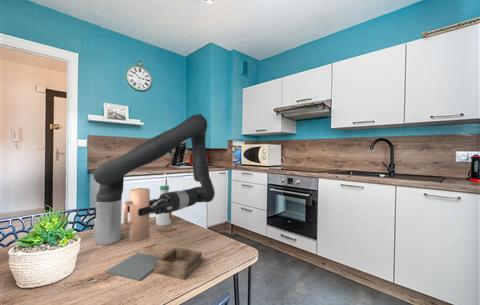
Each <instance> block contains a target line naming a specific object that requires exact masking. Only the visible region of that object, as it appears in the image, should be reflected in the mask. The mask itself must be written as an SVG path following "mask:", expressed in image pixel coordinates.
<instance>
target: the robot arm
mask: <svg viewBox="0 0 480 305" xmlns="http://www.w3.org/2000/svg"><path fill="white" fill-rule="evenodd" d="M207 129H208V121H207V119H206V118H205V117H204V116H203V115H201V114H194V115H191V116H190V117H188V118H186V119H185V120H184V121H182V122H181V123H179V124H177V125H176V126H174V127H173V128H170V129H168V130H166V131H165V130H164V132H161V133H159V134H157V135H155V136H153V137H151V138H150V139H148V140H146V141H144V142H142V143H140V144H139V145H137V146H135V147H134V148H132V149H130V150H129V151H128V152H126V153H125V154H122V155H121V156H117V158H114V159H111V160H109V161H107V162H104V163H101V164H99V165H98V166H97V167H96V168H95V170H94V172H93V180H94V182H96V183H97V184H99V187H98V188H99V189H98V191H97V194H96V199H95V200H96V201H95V202H96V204H95V208H96V209H95V218H94V220H93V242H94V243H95V244H96V245H99V246H101V245H102V246H106V245H111V244H115V243H117V242H119V241H120V240H121V239H122V206H123V205H122V202H123V199H122V198H123V196H122V195H123V191H124V179H125V176H126V175H127V174H129V173H130V172H132V171H134V170H136V169H138V168H140V167H144V166H146V165H149V164H150V163H153V162H155V161H157V160H159V159H161V158H162V157H165V156H166V155H167V154H169V153H170V152H172V151H173V150H174V149H175V148H176V147H178V146H179V145H180V144H181V143H183V142H185V141H187V140H188V139H190V141H191V147H192V149H191V150H192V173H193V179H194V181H196V182H199V184H200V186H195V187H192V188H189V189H182V190H174V191H168V193H163V194H161V195H160V194H159V195H160V197H159V196H158V197H159V199H158V198H153V199H150V207H145V208H140V209H138V215H139V216H142V215H146V214H149V215H153V214H154V215H155V216H156V215H157V214H161V213H170V212H172V213H174V212H176V211H181V210H182V209H186V208H189V207H191V206H194V205H196V204H197V203H210V202H212V201H213V200H214V198H215V187H214V185H213V182H212V180H211V176H210V169H209V167H210V166H209V161H208V156H207V150H206V134H207ZM128 213H129V214H130V204H129V205H128Z"/></svg>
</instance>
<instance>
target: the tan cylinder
mask: <svg viewBox="0 0 480 305" xmlns="http://www.w3.org/2000/svg"><path fill="white" fill-rule="evenodd" d="M150 191H151V190H150V188H147V187H146V188H144V187H142V188H140V187H139V188H134V189H133V188H132V189H129V200H126V201H124V202H123V205H122V206H123V208H122V210H123V211H122V213H123V214H122V221H123V222H122V225H123V227H128V226H129V241H130V242H135V243H136V242H142V241H146V240H148V239H149V238H150V214H146V215H142V216H139V215H138V209H140V208H145V207H150V200H151V198H150V197H151V196H150V193H151V192H150ZM129 205H130V212H129V214H128V206H129ZM128 216H129V217H128Z"/></svg>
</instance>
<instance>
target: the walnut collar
mask: <svg viewBox="0 0 480 305" xmlns="http://www.w3.org/2000/svg"><path fill="white" fill-rule="evenodd" d="M159 257H160V256H159ZM176 260H177V261H181V262H185V263H183V264H182V263H176V262H175V261H176ZM202 263H203V252H202V251H197V250H191V249H186V248H180V247H173V248H172V249H170V250H169V251H168V252H166V253H165V254H163V255H162V256H161V257H160V258H159V259H158V260H156V261H155V262H154V271H153V273H154V274H157V275H162V276H166V277H171V278H175V279H179V280H186V279H187V278H188V277H189V276H190V274H192V273H193V272H194V271H195V270H196V268H198V267H199V265H201V264H202Z"/></svg>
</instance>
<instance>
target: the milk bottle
mask: <svg viewBox="0 0 480 305" xmlns="http://www.w3.org/2000/svg"><path fill="white" fill-rule="evenodd" d="M169 190H170V186H169V185H160V186H159V194H158V197H157V199H159V197H160V195H161V194H163V193H168V192H170V191H169ZM172 214H173V212H170V213H161V214H157V215H156V214H155V225H156V226H158V227H165V226H169V225H171V224H172Z"/></svg>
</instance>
